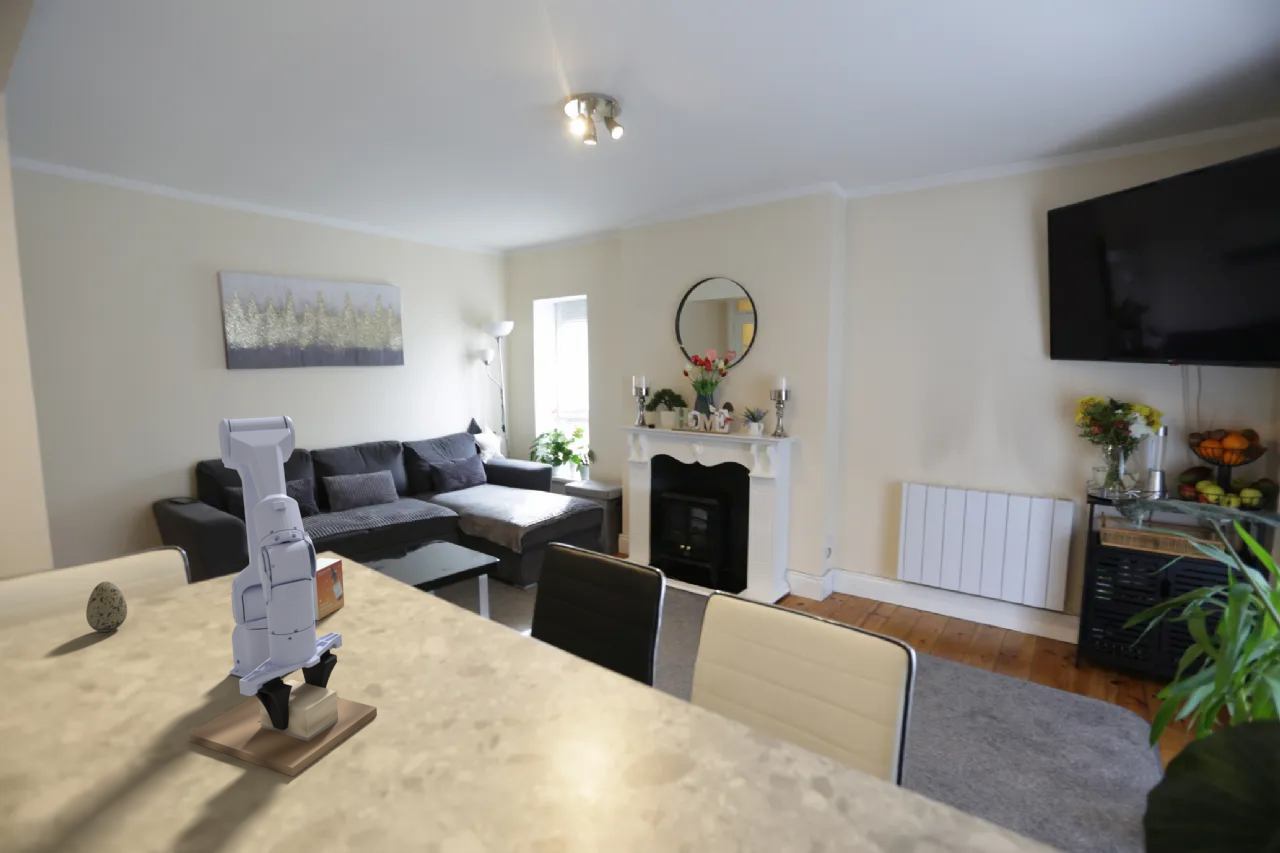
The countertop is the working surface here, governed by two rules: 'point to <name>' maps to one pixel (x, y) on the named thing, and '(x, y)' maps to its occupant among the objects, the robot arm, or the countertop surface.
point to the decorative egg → (106, 607)
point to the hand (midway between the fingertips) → (298, 716)
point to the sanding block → (306, 711)
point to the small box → (327, 587)
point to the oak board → (277, 736)
